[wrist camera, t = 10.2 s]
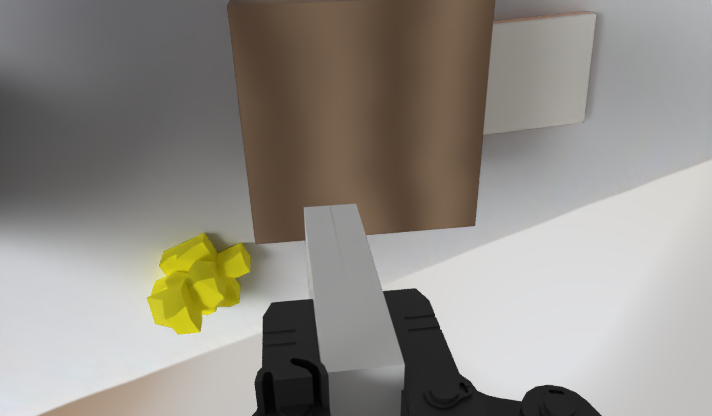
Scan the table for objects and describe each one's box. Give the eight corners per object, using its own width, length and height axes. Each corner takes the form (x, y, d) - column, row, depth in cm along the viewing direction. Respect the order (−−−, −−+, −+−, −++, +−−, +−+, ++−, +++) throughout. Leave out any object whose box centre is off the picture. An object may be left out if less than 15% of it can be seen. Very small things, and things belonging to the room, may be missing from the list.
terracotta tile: (583, 122, 44) (571, 114, 45) (596, 14, 40) (582, 10, 42) (483, 135, 43) (474, 126, 45) (486, 26, 39) (476, 21, 41)
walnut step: (258, 177, 44) (255, 244, 35) (237, -16, 37) (227, 6, 29) (435, 165, 45) (475, 226, 36) (444, -23, 39) (495, -5, 30)
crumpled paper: (263, 274, 48) (261, 334, 41) (179, 312, 49) (164, 377, 42) (228, 221, 45) (220, 275, 39) (140, 261, 46) (117, 322, 39)
